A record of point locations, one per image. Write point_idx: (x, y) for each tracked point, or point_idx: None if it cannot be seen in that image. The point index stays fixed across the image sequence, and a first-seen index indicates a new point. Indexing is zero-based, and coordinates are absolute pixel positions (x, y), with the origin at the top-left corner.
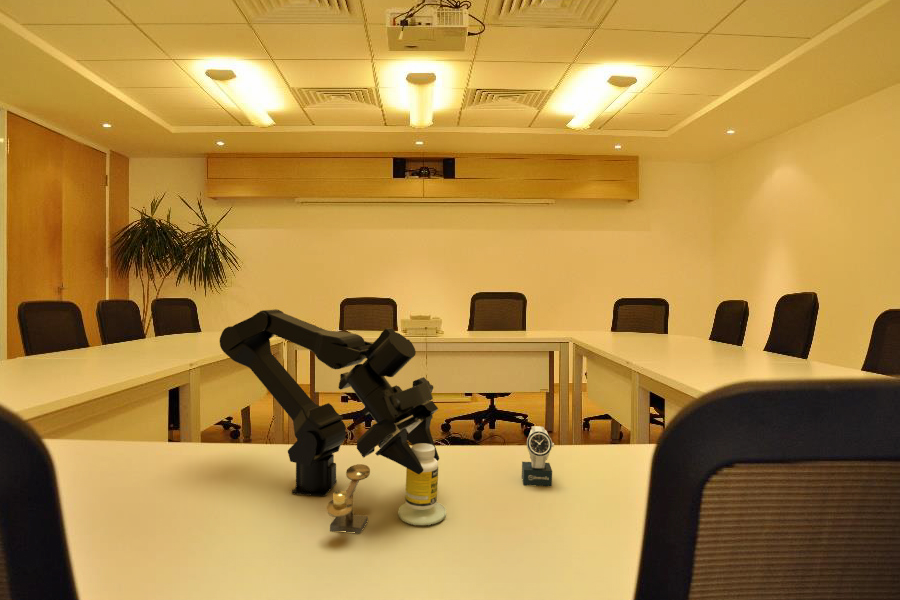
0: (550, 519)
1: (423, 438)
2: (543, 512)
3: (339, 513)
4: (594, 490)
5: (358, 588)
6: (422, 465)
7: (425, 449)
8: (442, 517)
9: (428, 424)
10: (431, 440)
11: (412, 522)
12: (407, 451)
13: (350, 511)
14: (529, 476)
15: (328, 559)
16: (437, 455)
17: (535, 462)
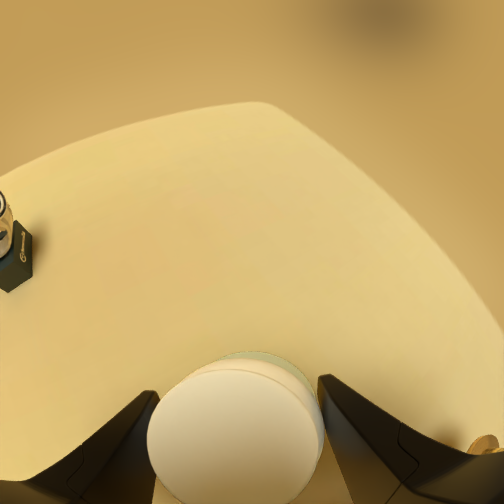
0: (134, 190)
1: (111, 500)
2: (114, 207)
3: (495, 440)
4: (39, 187)
5: (487, 319)
6: (303, 395)
7: (262, 412)
8: (248, 352)
9: (14, 491)
10: (94, 449)
11: (315, 398)
12: (420, 435)
13: (479, 438)
14: (21, 258)
15: (478, 414)
16: (142, 399)
17: (9, 226)
